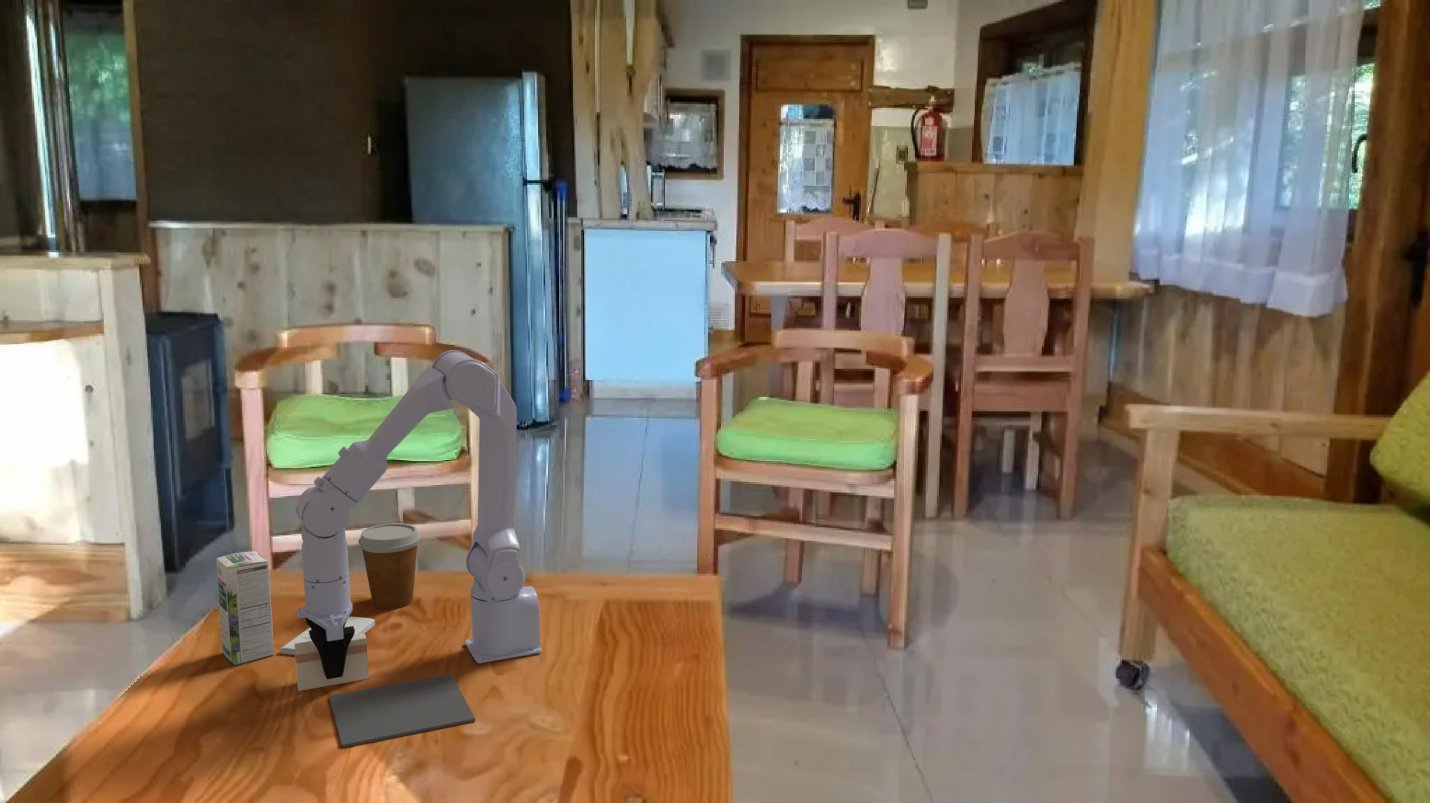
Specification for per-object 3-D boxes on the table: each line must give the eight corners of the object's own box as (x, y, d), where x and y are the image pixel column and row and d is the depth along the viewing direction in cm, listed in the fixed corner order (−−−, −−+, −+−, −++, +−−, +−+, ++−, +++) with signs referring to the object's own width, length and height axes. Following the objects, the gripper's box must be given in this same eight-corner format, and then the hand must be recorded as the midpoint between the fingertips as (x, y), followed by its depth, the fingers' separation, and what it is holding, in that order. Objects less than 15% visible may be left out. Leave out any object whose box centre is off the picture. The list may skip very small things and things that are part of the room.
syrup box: (221, 653, 155) (212, 557, 152) (263, 642, 159) (256, 548, 156) (233, 666, 151) (225, 568, 148) (276, 655, 154) (269, 559, 152)
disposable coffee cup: (368, 592, 179) (364, 522, 176) (427, 590, 180) (424, 521, 177) (356, 614, 169) (351, 541, 167) (418, 612, 170) (414, 540, 168)
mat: (451, 676, 148) (451, 673, 148) (475, 721, 136) (474, 718, 136) (329, 698, 142) (329, 695, 142) (342, 747, 129) (342, 744, 129)
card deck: (366, 673, 149) (364, 632, 148) (368, 679, 148) (366, 638, 146) (297, 685, 146) (294, 643, 144) (298, 691, 144) (295, 649, 143)
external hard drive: (375, 628, 166) (332, 662, 154) (327, 623, 167) (280, 657, 155) (374, 618, 165) (331, 651, 153) (326, 614, 167) (279, 646, 155)
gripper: (290, 562, 148) (296, 654, 151) (299, 598, 135) (306, 698, 138) (343, 555, 151) (349, 645, 154) (357, 590, 138) (363, 688, 141)
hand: (332, 670), depth 146 cm, fingers open, 4 cm apart
